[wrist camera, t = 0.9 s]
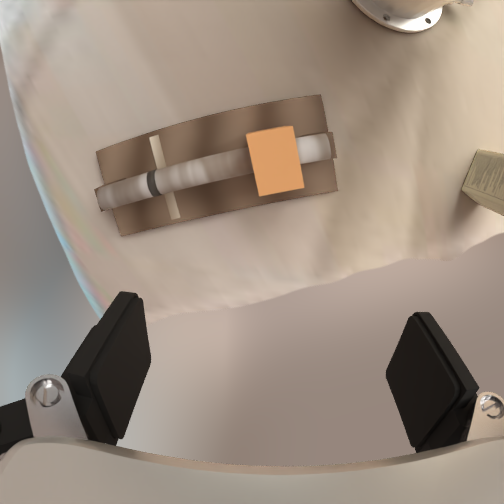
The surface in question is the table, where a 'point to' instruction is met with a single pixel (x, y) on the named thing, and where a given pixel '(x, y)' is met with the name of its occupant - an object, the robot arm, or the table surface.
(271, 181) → the collar
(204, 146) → the rail base
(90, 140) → the table surface
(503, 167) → the skincare box
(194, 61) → the table surface
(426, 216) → the table surface
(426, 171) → the table surface
